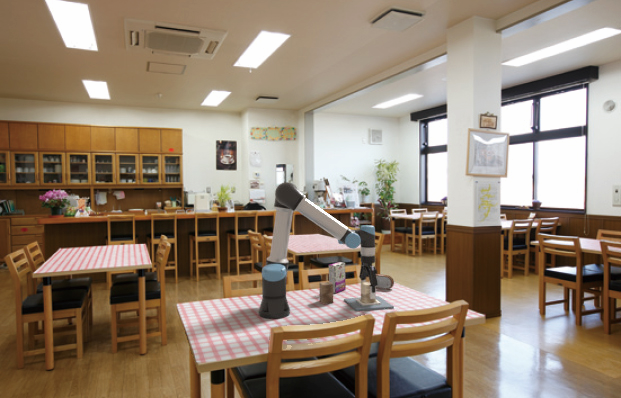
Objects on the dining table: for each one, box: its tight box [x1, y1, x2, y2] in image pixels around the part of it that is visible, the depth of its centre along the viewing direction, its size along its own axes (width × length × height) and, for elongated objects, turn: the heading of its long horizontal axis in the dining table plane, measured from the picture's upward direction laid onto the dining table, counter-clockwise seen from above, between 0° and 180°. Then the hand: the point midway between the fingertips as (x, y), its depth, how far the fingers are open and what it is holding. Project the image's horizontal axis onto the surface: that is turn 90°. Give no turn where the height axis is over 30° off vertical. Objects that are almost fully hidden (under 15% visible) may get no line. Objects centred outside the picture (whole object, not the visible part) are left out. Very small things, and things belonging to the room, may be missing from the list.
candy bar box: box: [328, 261, 347, 294], centre depth 241 cm, size 11×5×16 cm, turn 143°
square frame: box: [356, 299, 381, 306], centre depth 213 cm, size 10×10×1 cm
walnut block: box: [319, 281, 334, 305], centre depth 219 cm, size 6×6×10 cm
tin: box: [376, 273, 395, 290], centre depth 247 cm, size 15×3×8 cm, turn 58°
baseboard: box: [343, 295, 395, 312], centre depth 213 cm, size 20×20×1 cm
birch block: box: [360, 281, 376, 303], centre depth 213 cm, size 6×6×10 cm
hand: (368, 295), depth 213 cm, fingers open, 13 cm apart
